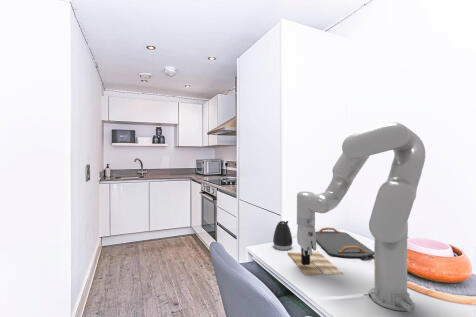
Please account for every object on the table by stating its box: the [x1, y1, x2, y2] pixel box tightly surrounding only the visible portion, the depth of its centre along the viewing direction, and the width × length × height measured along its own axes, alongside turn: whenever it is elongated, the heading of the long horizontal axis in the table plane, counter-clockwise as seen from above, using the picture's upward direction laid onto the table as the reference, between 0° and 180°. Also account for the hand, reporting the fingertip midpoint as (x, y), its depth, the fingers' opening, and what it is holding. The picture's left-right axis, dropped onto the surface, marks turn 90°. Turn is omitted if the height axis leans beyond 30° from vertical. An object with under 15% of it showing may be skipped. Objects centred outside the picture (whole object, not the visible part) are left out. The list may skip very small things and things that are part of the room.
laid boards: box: [310, 250, 344, 276], centre depth 110 cm, size 24×8×1 cm, turn 7°
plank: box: [287, 252, 324, 276], centre depth 109 cm, size 22×8×1 cm, turn 7°
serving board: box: [315, 227, 374, 259], centre depth 133 cm, size 39×23×6 cm, turn 0°
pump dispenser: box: [272, 220, 293, 251], centre depth 129 cm, size 10×10×15 cm
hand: (305, 263), depth 102 cm, fingers closed
